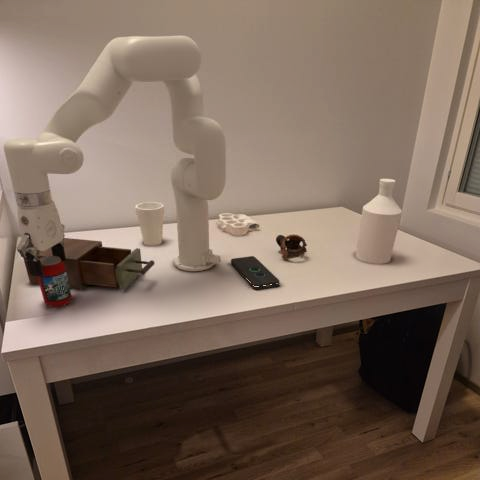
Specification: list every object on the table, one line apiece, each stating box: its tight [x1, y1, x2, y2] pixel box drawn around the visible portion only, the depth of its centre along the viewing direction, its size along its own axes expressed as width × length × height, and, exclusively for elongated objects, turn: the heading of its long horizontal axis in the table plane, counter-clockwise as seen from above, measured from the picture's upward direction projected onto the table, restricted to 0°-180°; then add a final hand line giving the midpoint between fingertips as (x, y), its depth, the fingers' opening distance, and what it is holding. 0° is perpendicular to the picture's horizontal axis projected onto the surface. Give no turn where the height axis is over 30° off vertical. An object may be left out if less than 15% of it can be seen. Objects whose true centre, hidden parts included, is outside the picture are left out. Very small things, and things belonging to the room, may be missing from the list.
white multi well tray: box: [215, 212, 261, 237], centre depth 163 cm, size 3×18×15 cm
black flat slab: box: [230, 255, 280, 291], centre depth 126 cm, size 8×2×20 cm
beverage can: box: [38, 256, 73, 308], centre depth 106 cm, size 7×7×12 cm
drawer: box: [78, 246, 155, 291], centre depth 119 cm, size 20×13×7 cm, turn 79°
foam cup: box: [135, 201, 165, 247], centre depth 145 cm, size 10×9×13 cm
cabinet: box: [22, 237, 103, 290], centre depth 121 cm, size 16×14×9 cm
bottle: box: [355, 178, 403, 265], centre depth 134 cm, size 12×12×25 cm
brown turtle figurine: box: [275, 234, 308, 261], centre depth 139 cm, size 12×10×8 cm
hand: (48, 267), depth 104 cm, fingers open, 9 cm apart
